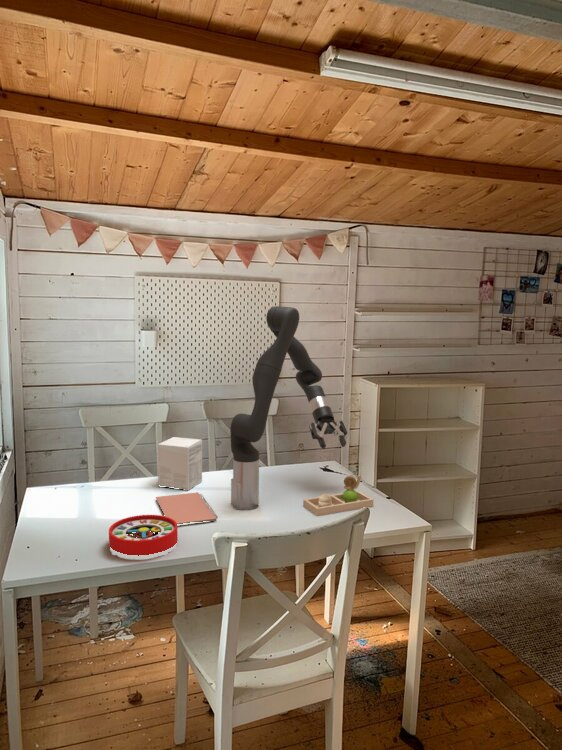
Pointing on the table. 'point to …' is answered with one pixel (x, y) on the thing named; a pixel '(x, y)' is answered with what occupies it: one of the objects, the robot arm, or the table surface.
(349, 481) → the snail figurine
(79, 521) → the table surface
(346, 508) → the divided tray
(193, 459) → the supplement box
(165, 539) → the toy clock
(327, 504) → the beige domed knob
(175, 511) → the notebook
